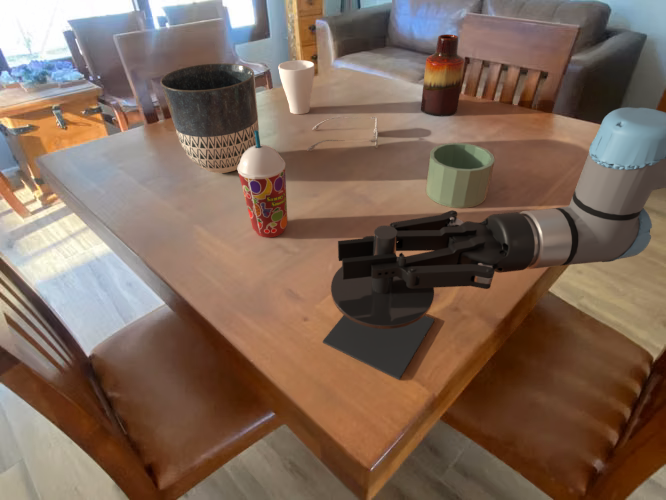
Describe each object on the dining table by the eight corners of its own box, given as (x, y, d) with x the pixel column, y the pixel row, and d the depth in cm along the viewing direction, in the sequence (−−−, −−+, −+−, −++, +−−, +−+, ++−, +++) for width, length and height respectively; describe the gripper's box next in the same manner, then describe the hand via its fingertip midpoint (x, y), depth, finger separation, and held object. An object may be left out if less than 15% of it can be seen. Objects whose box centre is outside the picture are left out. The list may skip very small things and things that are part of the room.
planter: (260, 145, 113) (248, 59, 100) (272, 179, 98) (259, 84, 85) (184, 155, 109) (161, 68, 96) (185, 192, 95) (158, 95, 81)
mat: (434, 321, 63) (434, 319, 63) (399, 380, 56) (399, 378, 55) (363, 292, 69) (363, 290, 68) (322, 342, 61) (322, 340, 60)
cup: (290, 119, 126) (286, 72, 118) (277, 108, 134) (272, 63, 125) (322, 113, 130) (320, 66, 122) (308, 102, 137) (305, 58, 129)
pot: (493, 186, 93) (501, 150, 88) (475, 214, 85) (483, 176, 80) (438, 173, 99) (443, 138, 93) (416, 197, 90) (420, 161, 85)
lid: (448, 281, 59) (460, 220, 52) (406, 349, 50) (415, 286, 44) (362, 249, 65) (363, 191, 58) (311, 305, 56) (306, 244, 49)
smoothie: (282, 245, 79) (269, 144, 66) (241, 238, 81) (221, 139, 68) (298, 220, 85) (289, 123, 73) (259, 214, 87) (244, 119, 74)
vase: (415, 113, 128) (423, 39, 115) (427, 101, 135) (435, 30, 123) (451, 118, 124) (462, 42, 111) (461, 106, 131) (472, 33, 119)
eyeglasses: (377, 153, 108) (378, 138, 105) (306, 152, 109) (305, 138, 106) (376, 128, 120) (377, 114, 117) (312, 128, 121) (311, 115, 118)
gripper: (544, 305, 51) (351, 329, 49) (489, 228, 63) (332, 244, 61) (564, 257, 46) (351, 281, 44) (500, 184, 59) (331, 200, 56)
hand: (340, 259), depth 53 cm, fingers closed on lid, 3 cm apart
